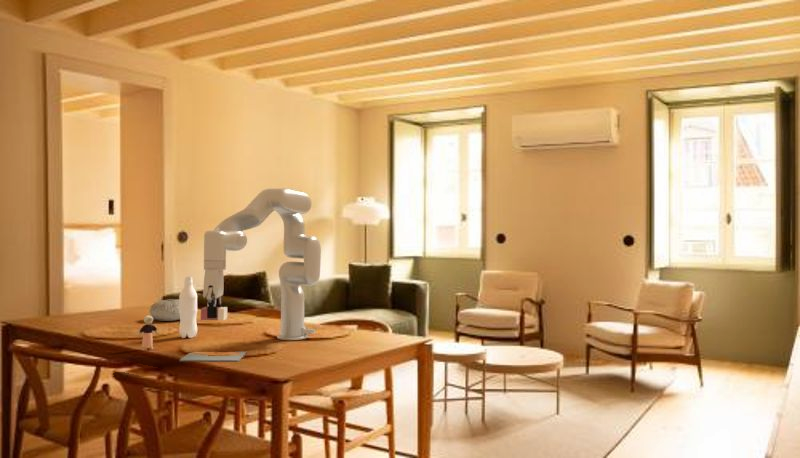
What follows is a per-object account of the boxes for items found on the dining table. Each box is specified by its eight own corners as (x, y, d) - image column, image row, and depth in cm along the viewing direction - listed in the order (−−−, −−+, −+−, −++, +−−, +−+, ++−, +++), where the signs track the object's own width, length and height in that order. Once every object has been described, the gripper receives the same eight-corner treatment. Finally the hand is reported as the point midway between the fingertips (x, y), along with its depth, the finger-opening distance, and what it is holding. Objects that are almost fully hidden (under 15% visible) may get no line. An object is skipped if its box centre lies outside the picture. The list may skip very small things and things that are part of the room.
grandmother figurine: (142, 351, 236) (143, 317, 236) (136, 350, 238) (136, 316, 238) (160, 348, 243) (160, 314, 243) (154, 347, 245) (154, 313, 245)
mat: (246, 353, 235) (246, 351, 235) (237, 361, 221) (237, 360, 221) (192, 352, 235) (192, 351, 235) (179, 361, 221) (179, 359, 221)
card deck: (204, 317, 230) (204, 306, 230) (227, 318, 230) (227, 307, 230) (200, 320, 225) (200, 308, 225) (223, 320, 225) (223, 308, 225)
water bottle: (191, 339, 262) (192, 277, 261) (175, 338, 263) (175, 277, 263) (200, 336, 269) (200, 276, 268) (184, 335, 270) (185, 275, 270)
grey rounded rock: (143, 322, 301) (143, 301, 301) (157, 317, 319) (157, 297, 319) (181, 323, 302) (181, 301, 301) (193, 317, 319) (193, 297, 319)
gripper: (210, 263, 236) (210, 313, 236) (196, 266, 219) (196, 320, 219) (231, 264, 236) (230, 313, 236) (219, 267, 219) (218, 320, 219)
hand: (214, 316), depth 228 cm, fingers closed on card deck, 4 cm apart
